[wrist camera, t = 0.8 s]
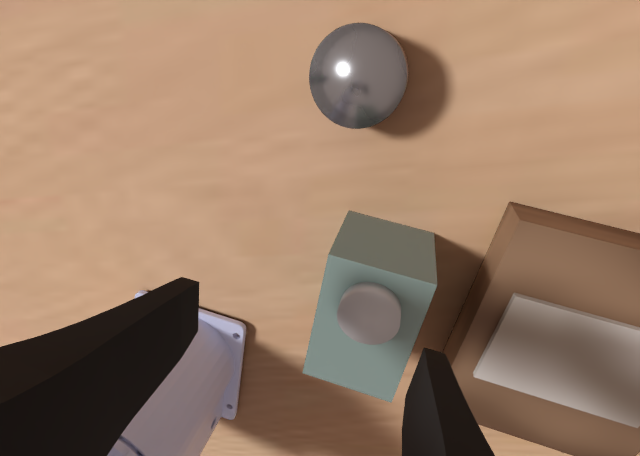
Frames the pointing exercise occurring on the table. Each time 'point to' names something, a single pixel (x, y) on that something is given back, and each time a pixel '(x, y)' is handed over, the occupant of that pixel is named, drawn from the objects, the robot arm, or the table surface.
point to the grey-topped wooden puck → (358, 75)
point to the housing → (371, 304)
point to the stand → (554, 334)
